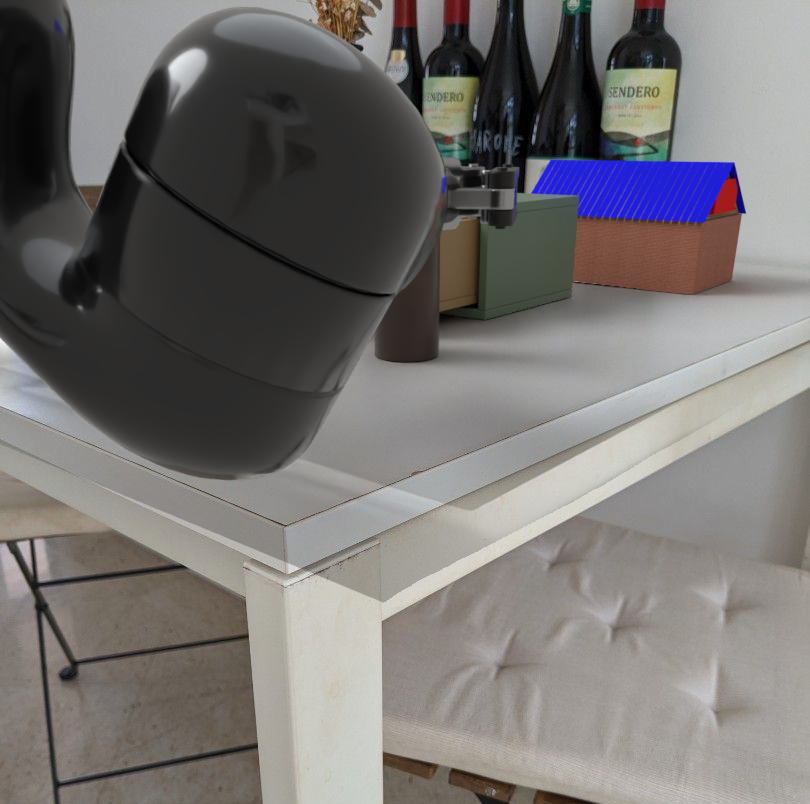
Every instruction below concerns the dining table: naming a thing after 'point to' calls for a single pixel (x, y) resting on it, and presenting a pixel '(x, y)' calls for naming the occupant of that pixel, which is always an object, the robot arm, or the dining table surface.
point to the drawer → (460, 265)
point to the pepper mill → (413, 318)
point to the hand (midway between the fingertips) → (393, 186)
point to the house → (651, 221)
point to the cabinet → (526, 258)
